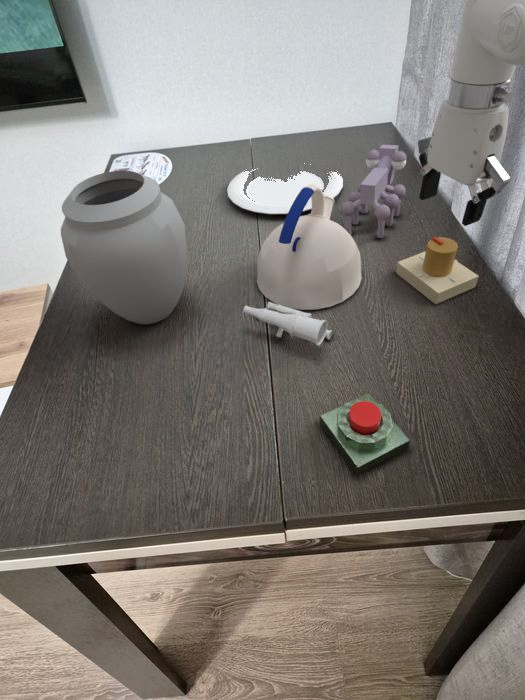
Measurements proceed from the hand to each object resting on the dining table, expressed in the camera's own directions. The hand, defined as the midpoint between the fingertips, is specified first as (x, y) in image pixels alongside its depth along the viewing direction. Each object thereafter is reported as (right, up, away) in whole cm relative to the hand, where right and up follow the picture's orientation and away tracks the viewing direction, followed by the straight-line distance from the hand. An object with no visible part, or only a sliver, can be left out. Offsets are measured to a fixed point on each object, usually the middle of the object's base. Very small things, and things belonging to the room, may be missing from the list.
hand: (448, 209), depth 71 cm
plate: (-24, +18, +40) cm, 50 cm away
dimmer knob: (+2, -8, +9) cm, 12 cm away
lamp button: (-17, -32, -14) cm, 39 cm away
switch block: (-16, -35, -11) cm, 40 cm away
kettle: (-21, -9, +15) cm, 27 cm away
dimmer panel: (+2, -10, +10) cm, 14 cm away
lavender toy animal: (-4, +7, +28) cm, 29 cm away
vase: (-51, -15, +12) cm, 55 cm away
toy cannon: (-26, -20, +4) cm, 33 cm away
